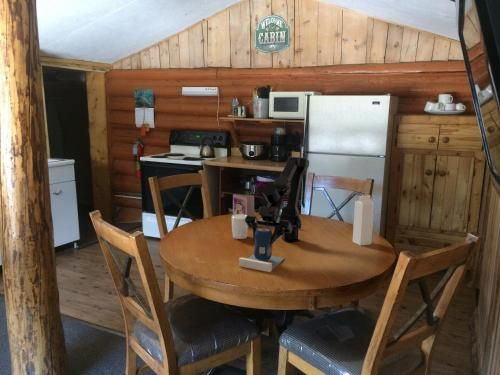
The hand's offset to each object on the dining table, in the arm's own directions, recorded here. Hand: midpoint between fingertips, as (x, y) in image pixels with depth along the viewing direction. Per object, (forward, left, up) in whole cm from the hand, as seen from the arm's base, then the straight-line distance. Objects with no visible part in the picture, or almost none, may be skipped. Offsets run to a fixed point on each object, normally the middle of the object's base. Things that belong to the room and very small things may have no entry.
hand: (262, 242), depth 161 cm
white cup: (-2, -34, -8) cm, 35 cm away
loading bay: (-1, -1, -8) cm, 8 cm away
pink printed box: (-11, -55, -8) cm, 57 cm away
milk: (-52, -9, -8) cm, 53 cm away
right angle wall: (-25, -45, -9) cm, 52 cm away
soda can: (-1, -1, -7) cm, 7 cm away
